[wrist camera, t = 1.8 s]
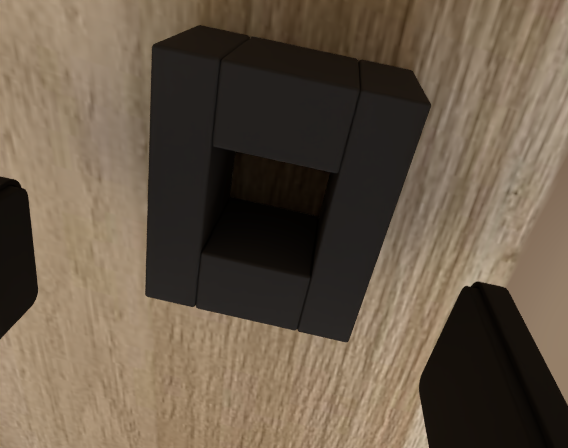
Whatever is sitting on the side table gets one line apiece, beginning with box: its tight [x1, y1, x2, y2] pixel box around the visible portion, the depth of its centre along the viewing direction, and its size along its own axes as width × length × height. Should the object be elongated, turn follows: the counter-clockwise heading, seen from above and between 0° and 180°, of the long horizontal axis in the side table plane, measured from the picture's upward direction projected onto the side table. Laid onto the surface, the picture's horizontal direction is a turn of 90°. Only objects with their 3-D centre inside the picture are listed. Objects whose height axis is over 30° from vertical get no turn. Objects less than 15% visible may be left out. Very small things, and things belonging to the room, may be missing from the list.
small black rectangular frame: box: [145, 25, 431, 342], centre depth 13 cm, size 6×7×3 cm
